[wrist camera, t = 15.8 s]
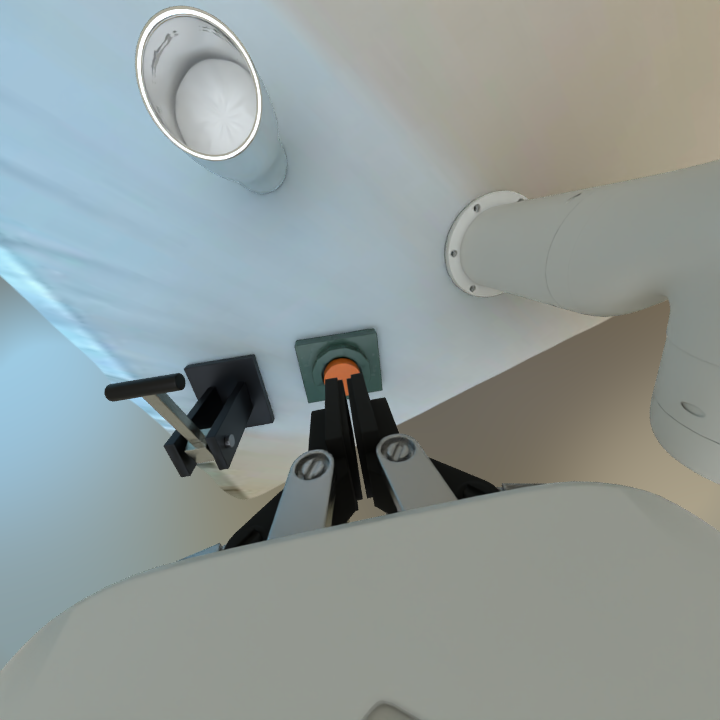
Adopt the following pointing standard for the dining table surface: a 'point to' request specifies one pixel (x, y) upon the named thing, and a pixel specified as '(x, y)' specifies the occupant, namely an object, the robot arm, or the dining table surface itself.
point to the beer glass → (209, 97)
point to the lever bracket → (222, 408)
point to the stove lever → (166, 409)
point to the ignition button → (341, 370)
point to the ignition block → (328, 348)
